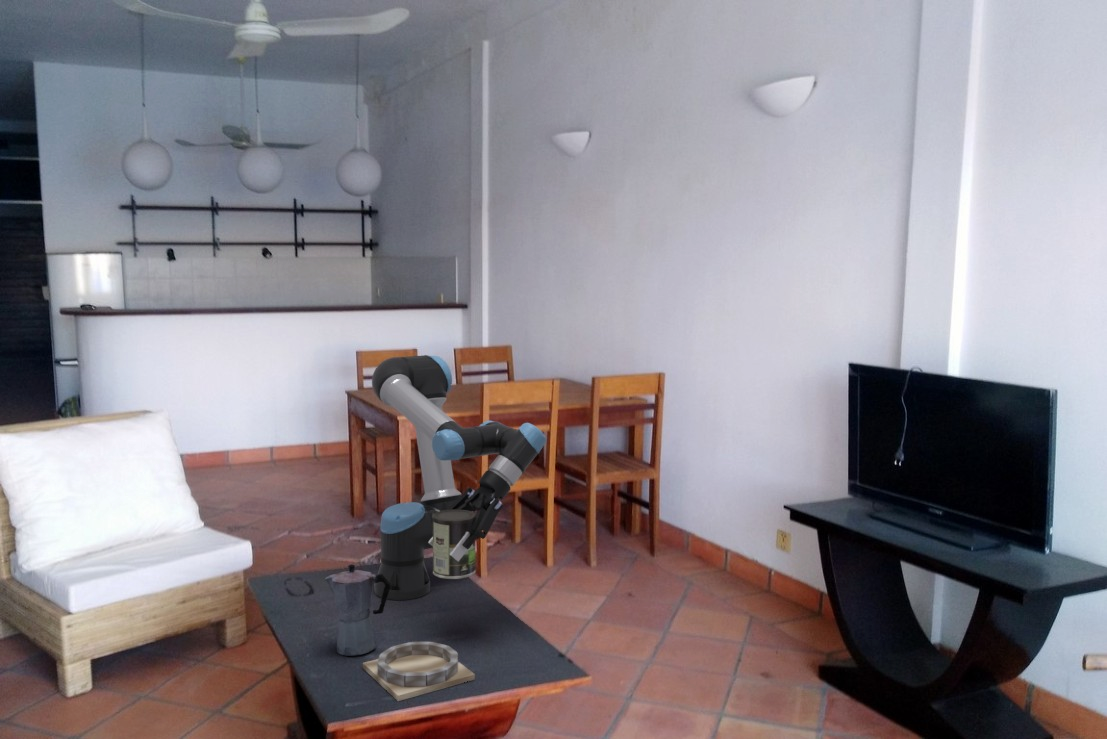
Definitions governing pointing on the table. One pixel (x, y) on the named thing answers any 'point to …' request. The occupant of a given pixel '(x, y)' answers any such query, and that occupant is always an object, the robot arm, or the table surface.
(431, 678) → the ring board
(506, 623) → the table surface
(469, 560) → the coffee can
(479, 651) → the table surface
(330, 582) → the moka pot
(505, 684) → the table surface
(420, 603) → the table surface
